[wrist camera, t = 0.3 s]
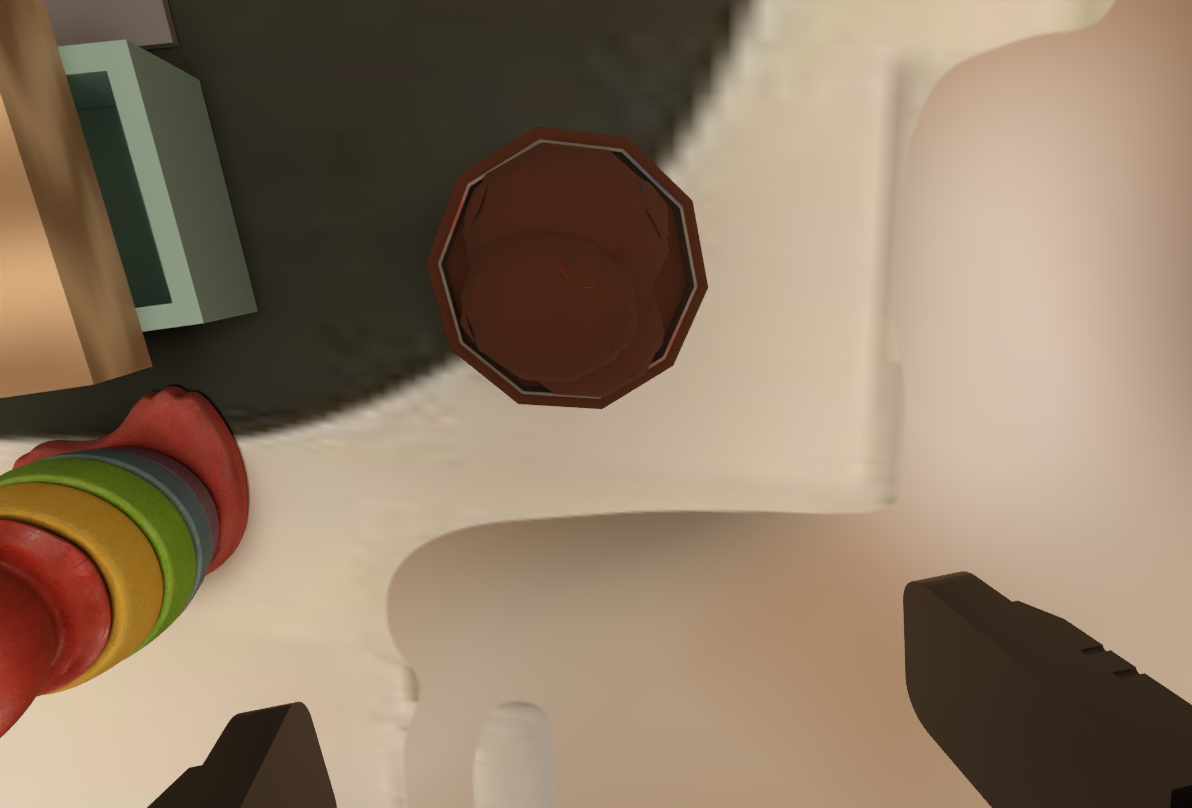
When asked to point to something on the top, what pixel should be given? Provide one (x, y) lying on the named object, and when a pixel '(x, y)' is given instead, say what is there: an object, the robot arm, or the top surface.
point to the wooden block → (54, 229)
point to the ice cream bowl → (567, 268)
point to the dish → (160, 184)
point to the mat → (112, 22)
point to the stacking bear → (111, 542)
